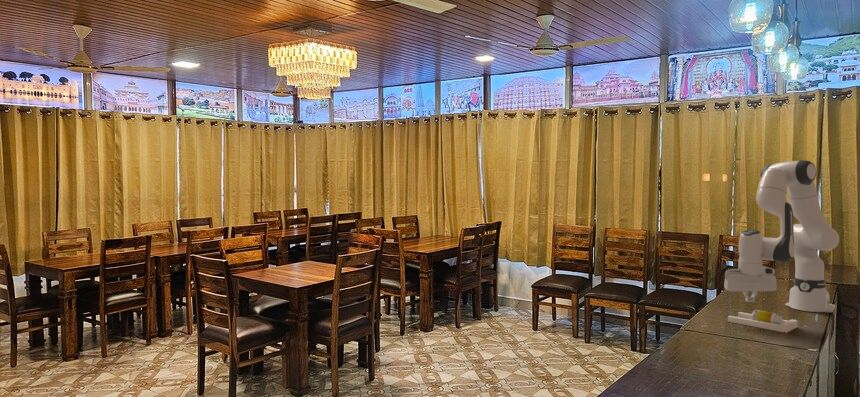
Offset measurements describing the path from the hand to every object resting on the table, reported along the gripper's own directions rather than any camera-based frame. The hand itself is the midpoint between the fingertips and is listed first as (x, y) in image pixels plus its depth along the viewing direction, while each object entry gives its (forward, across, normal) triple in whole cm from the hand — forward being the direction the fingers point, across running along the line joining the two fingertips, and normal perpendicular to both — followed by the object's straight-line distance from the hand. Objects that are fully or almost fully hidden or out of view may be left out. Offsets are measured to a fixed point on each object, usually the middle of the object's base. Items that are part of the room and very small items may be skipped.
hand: (749, 301), depth 236 cm
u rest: (+9, +2, -3) cm, 10 cm away
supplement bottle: (+6, +1, -1) cm, 6 cm away
